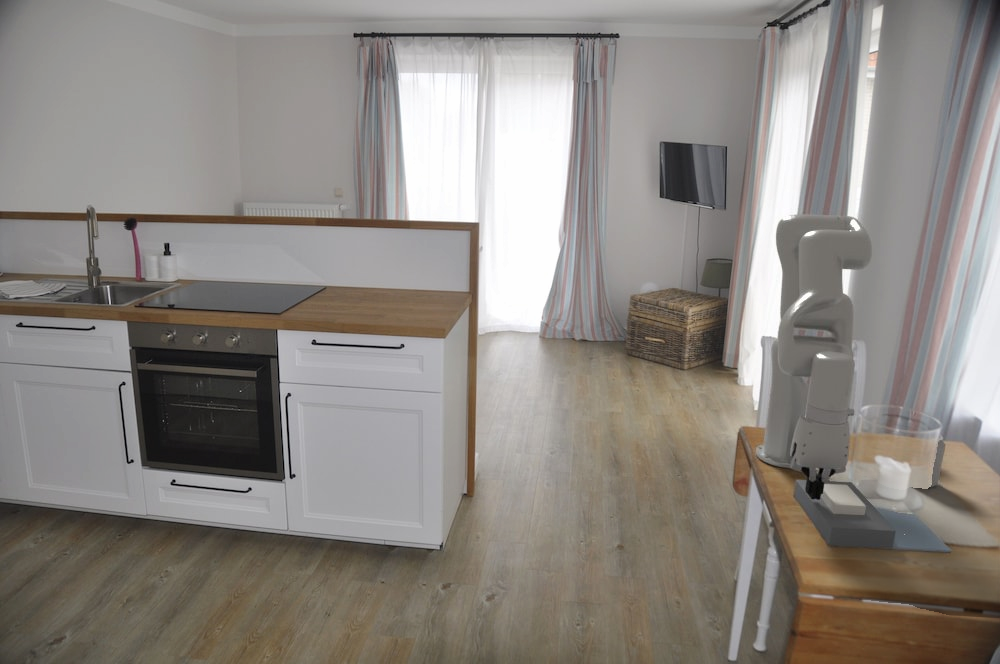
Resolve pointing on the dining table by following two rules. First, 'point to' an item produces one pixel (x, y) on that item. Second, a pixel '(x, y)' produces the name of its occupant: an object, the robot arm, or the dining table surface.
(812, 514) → the panel
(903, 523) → the mat
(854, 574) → the dining table surface
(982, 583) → the dining table surface
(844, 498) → the tile
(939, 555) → the dining table surface
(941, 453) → the can
